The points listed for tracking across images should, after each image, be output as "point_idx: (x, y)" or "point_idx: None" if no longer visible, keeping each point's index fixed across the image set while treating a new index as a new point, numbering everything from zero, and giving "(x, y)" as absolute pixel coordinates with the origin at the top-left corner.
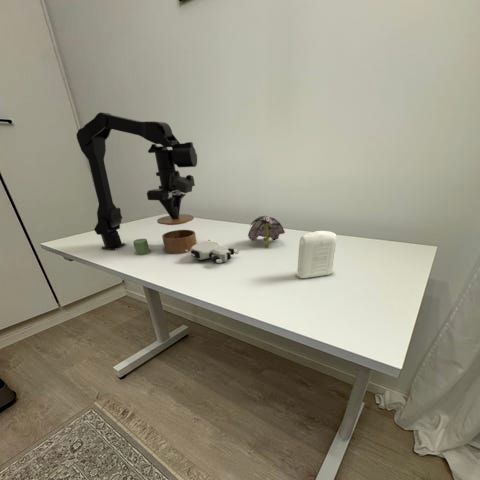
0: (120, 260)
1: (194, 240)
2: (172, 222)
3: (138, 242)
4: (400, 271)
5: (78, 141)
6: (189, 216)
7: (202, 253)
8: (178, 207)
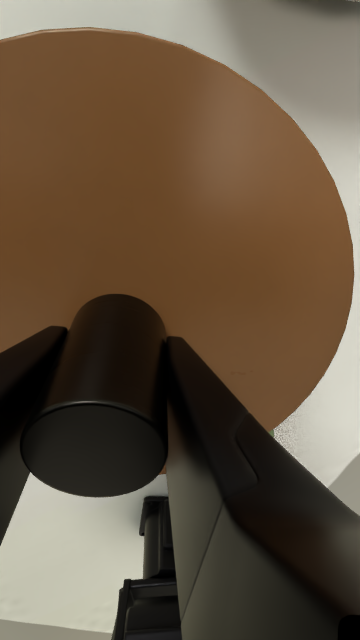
0: (324, 422)
1: None
2: (327, 275)
3: (270, 431)
4: None
5: None
6: None
7: None
8: (11, 387)
